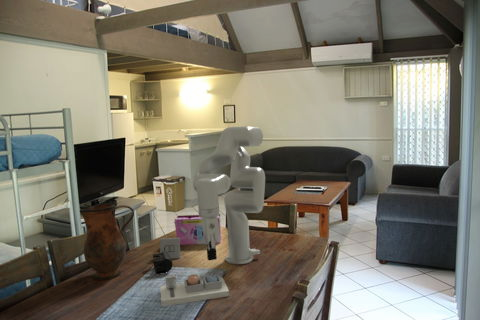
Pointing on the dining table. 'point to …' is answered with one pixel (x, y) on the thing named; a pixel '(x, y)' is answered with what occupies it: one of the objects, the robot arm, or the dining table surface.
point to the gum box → (192, 229)
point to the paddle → (170, 281)
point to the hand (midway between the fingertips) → (212, 258)
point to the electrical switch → (171, 247)
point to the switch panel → (193, 292)
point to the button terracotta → (193, 279)
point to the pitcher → (104, 240)
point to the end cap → (162, 262)
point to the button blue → (211, 279)
